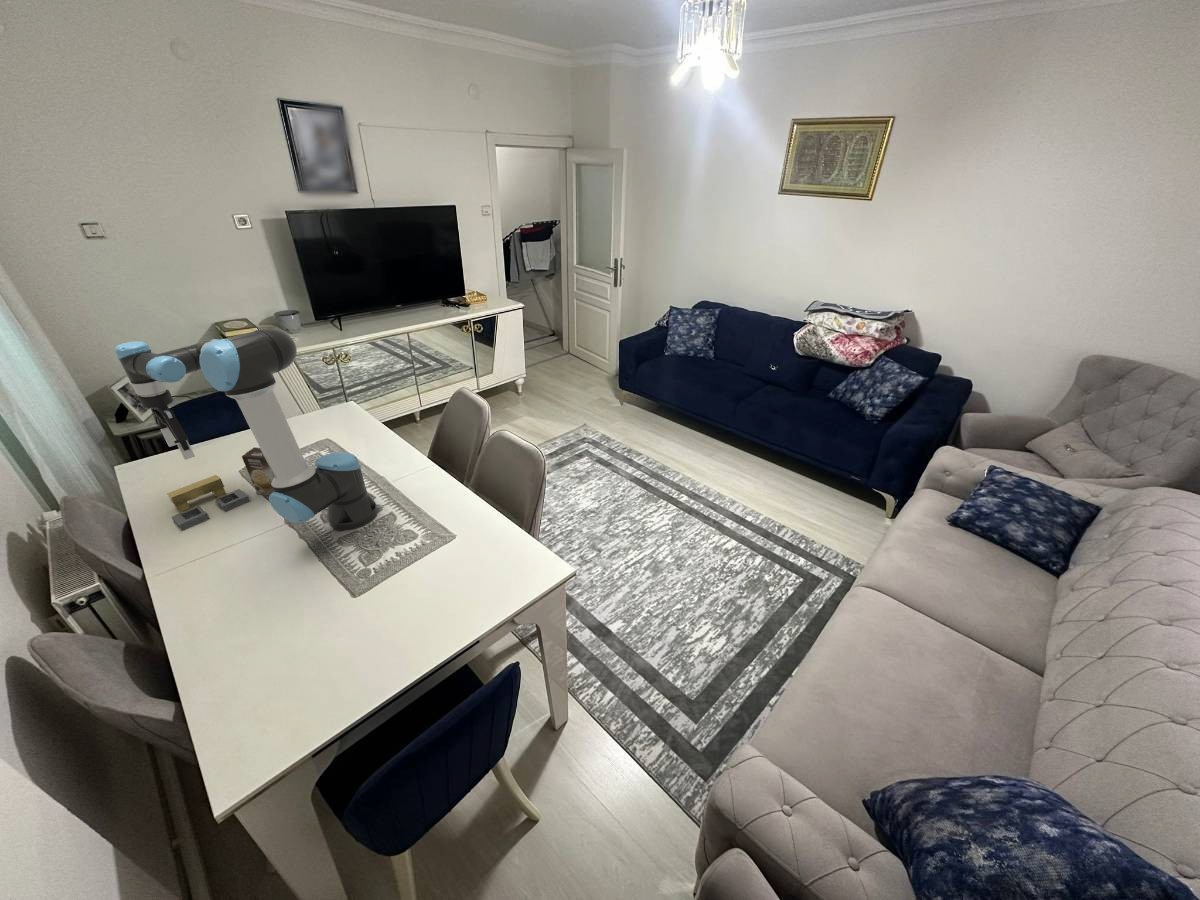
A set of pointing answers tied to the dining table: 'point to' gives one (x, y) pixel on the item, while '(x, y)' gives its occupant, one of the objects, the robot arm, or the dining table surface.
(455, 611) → the dining table surface
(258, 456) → the coffee box
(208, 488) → the tall gold block
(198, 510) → the silver square rings
